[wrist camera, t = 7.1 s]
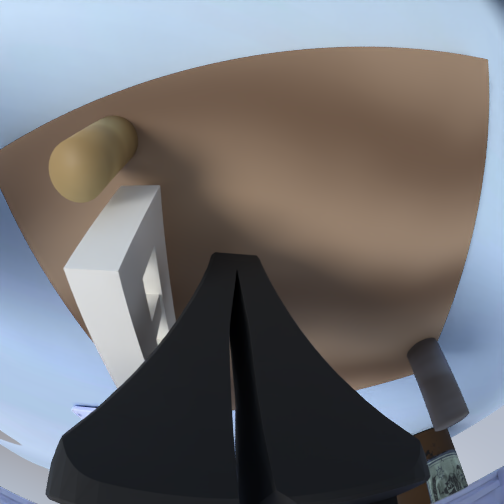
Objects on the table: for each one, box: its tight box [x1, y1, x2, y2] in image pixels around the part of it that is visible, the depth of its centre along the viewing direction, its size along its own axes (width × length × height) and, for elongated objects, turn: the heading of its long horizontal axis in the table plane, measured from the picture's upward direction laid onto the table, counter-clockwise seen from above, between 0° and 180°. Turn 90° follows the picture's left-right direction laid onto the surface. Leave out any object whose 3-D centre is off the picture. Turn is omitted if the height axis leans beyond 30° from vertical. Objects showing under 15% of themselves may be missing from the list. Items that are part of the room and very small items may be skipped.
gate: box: [64, 185, 176, 389], centre depth 10 cm, size 11×1×4 cm, turn 176°
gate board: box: [0, 47, 489, 431], centre depth 10 cm, size 18×18×6 cm
